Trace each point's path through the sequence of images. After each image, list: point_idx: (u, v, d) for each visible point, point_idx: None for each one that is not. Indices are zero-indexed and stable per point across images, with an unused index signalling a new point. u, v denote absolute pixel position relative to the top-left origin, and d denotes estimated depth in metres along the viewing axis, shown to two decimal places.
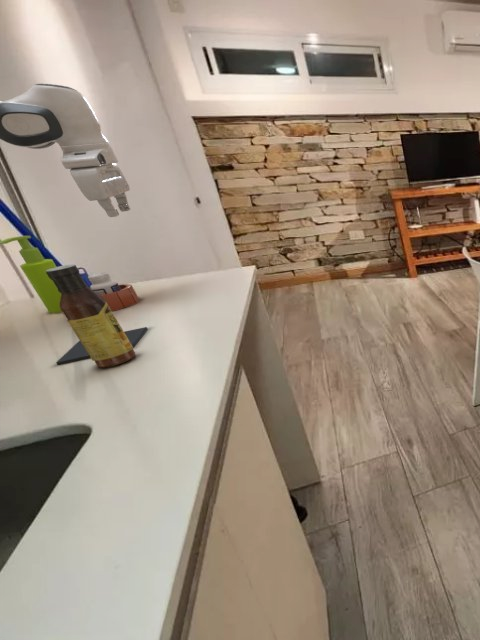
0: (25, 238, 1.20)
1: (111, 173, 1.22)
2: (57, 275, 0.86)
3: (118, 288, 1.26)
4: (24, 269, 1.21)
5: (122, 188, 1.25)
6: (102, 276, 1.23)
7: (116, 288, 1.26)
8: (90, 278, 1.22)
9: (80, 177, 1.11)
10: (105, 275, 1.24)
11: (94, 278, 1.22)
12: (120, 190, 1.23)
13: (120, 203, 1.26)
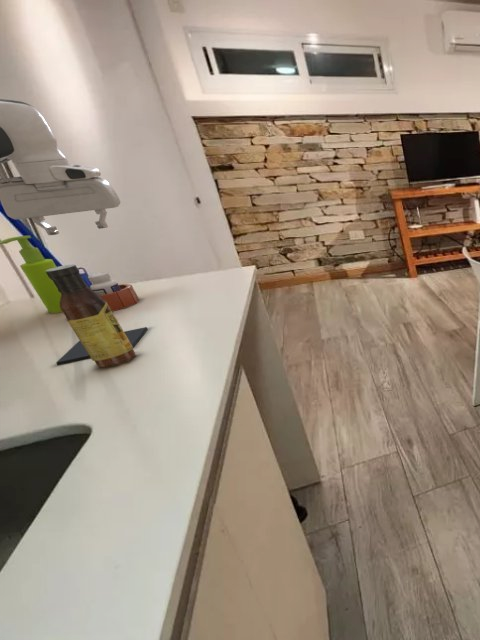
0: (25, 238, 1.20)
1: None
2: (57, 275, 0.86)
3: (118, 288, 1.26)
4: (24, 269, 1.21)
5: None
6: (102, 276, 1.23)
7: (116, 288, 1.26)
8: (90, 278, 1.22)
9: (106, 185, 1.18)
10: (105, 275, 1.24)
11: (94, 278, 1.22)
12: None
13: (47, 226, 1.16)
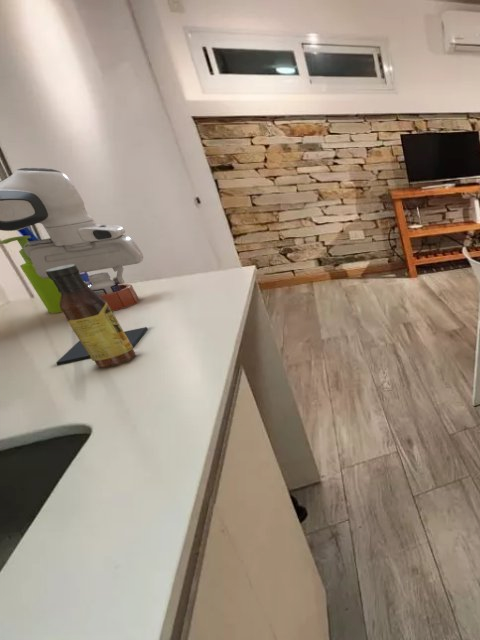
0: (25, 238, 1.20)
1: None
2: (57, 275, 0.86)
3: (118, 288, 1.26)
4: (24, 269, 1.21)
5: None
6: (102, 276, 1.23)
7: (116, 288, 1.26)
8: (90, 278, 1.22)
9: (130, 243, 1.24)
10: (105, 275, 1.24)
11: (94, 278, 1.22)
12: None
13: None
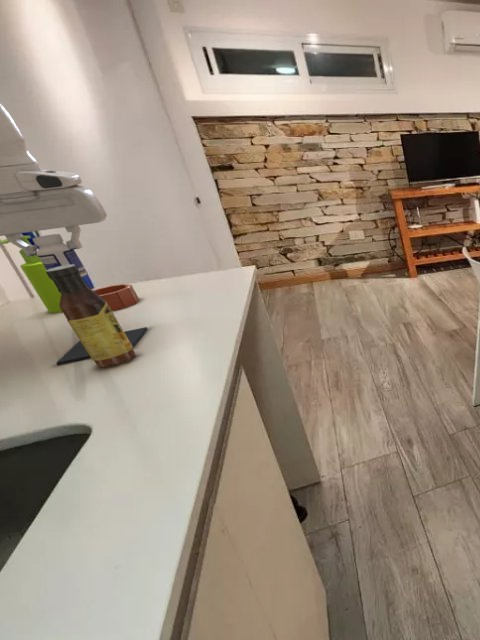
0: (25, 238, 1.20)
1: None
2: (57, 275, 0.86)
3: (74, 254, 0.98)
4: (24, 269, 1.21)
5: None
6: (51, 238, 0.95)
7: (72, 254, 0.98)
8: (35, 240, 0.94)
9: (88, 195, 0.96)
10: (56, 237, 0.96)
11: (41, 240, 0.94)
12: None
13: (25, 246, 0.94)
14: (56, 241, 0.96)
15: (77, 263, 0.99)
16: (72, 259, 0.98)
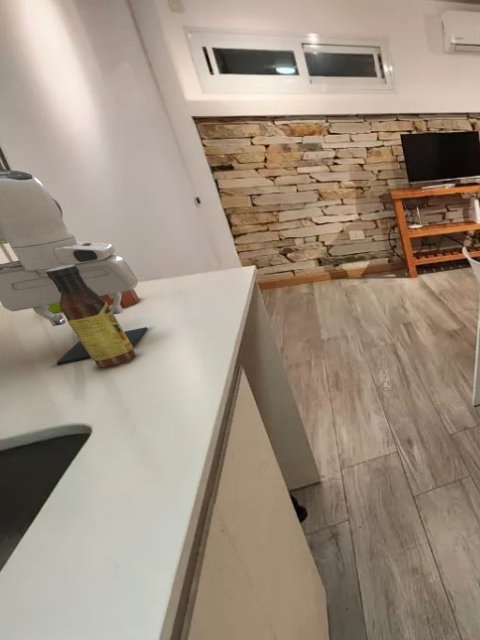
0: None
1: None
2: (57, 275, 0.86)
3: None
4: None
5: None
6: None
7: None
8: None
9: (121, 265, 0.99)
10: None
11: None
12: None
13: (52, 316, 0.97)
14: None
15: None
16: None
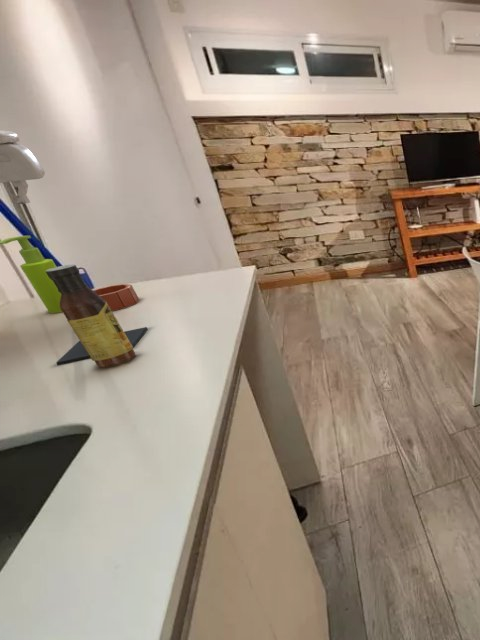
0: (25, 238, 1.20)
1: None
2: (57, 275, 0.86)
3: None
4: (24, 269, 1.21)
5: None
6: None
7: None
8: None
9: (24, 152, 1.00)
10: None
11: None
12: None
13: None
14: None
15: None
16: None
